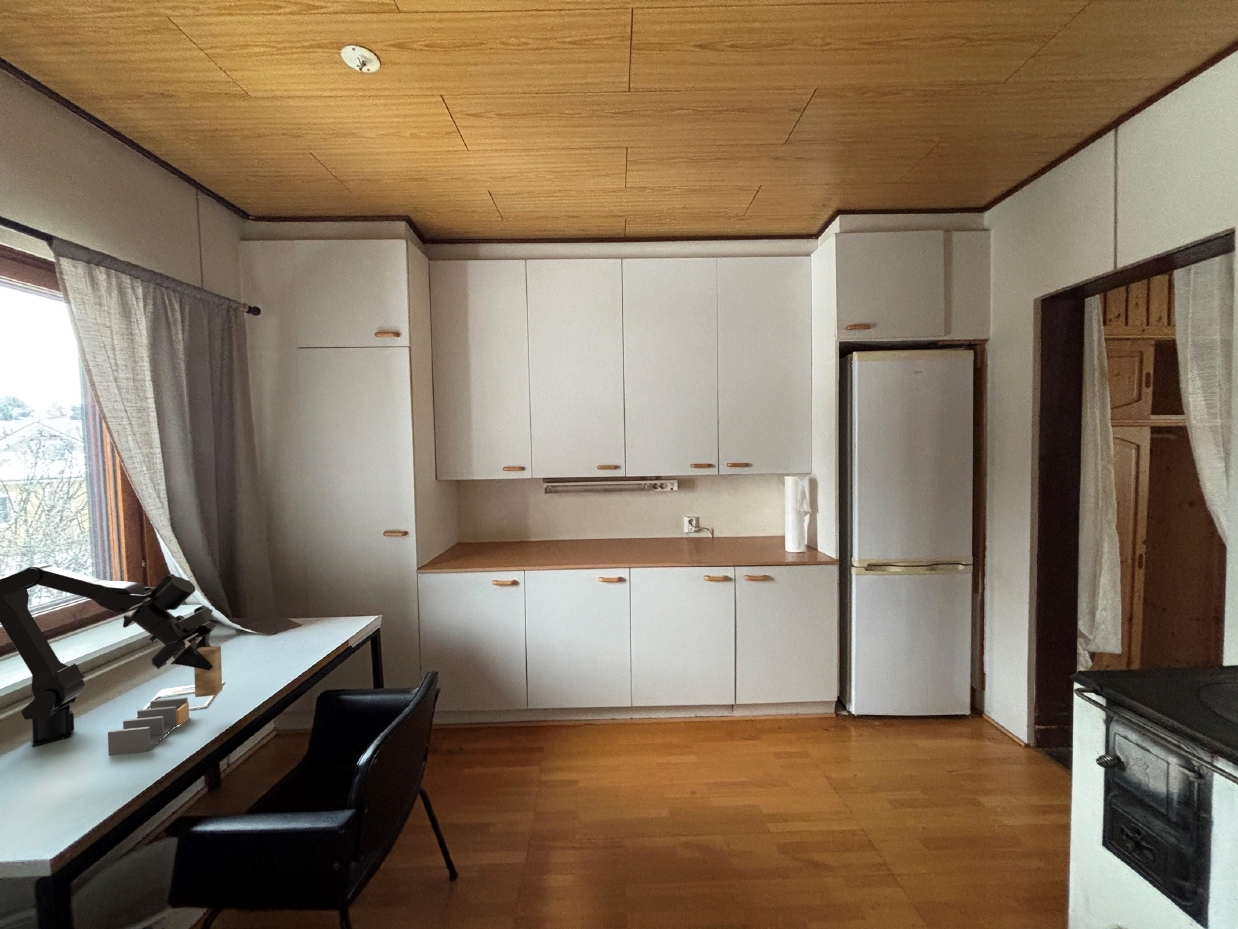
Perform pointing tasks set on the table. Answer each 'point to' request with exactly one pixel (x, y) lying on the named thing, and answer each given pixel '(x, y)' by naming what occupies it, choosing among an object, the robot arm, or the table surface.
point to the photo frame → (179, 691)
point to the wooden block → (209, 673)
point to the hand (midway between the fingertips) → (214, 666)
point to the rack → (148, 726)
